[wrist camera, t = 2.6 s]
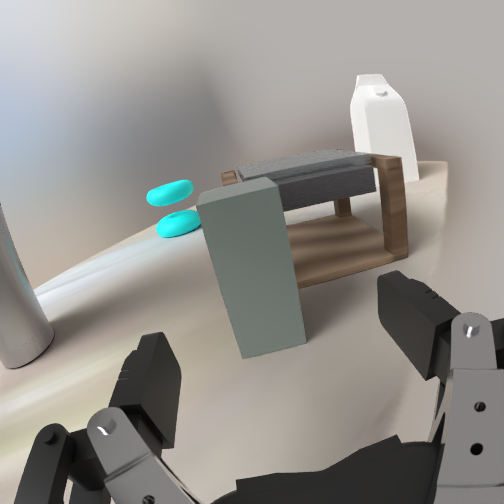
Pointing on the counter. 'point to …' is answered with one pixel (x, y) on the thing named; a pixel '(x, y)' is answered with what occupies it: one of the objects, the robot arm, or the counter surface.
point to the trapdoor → (315, 176)
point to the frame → (350, 232)
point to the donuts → (178, 220)
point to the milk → (382, 124)
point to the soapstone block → (253, 264)
